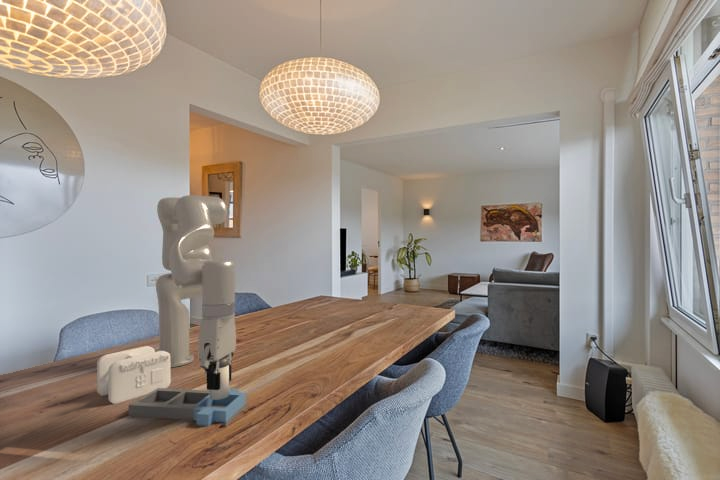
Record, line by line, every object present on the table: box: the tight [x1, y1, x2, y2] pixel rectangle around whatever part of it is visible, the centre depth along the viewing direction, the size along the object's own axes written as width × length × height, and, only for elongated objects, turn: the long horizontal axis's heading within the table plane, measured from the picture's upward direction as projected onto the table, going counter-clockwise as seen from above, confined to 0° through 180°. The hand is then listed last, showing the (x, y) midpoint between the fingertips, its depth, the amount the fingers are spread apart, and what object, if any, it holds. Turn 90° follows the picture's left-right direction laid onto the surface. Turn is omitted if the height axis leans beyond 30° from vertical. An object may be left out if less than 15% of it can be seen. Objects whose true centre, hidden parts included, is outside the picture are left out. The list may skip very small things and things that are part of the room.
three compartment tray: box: [128, 387, 247, 427], centre depth 88 cm, size 25×14×4 cm, turn 81°
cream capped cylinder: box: [209, 356, 230, 400], centre depth 87 cm, size 4×4×9 cm
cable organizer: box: [96, 345, 171, 405], centre depth 99 cm, size 15×11×12 cm
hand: (219, 384), depth 87 cm, fingers closed on cream capped cylinder, 4 cm apart
